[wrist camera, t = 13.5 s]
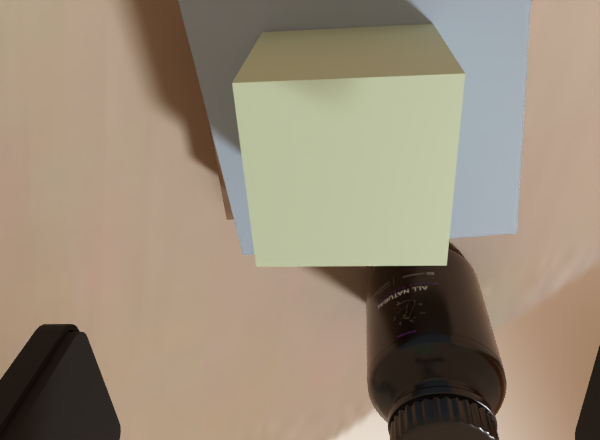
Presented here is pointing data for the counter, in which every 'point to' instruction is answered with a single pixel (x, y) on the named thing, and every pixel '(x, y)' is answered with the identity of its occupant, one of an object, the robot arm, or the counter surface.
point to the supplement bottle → (432, 353)
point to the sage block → (350, 145)
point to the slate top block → (386, 12)
